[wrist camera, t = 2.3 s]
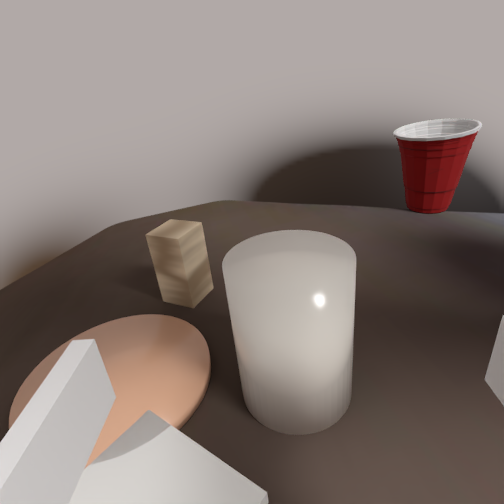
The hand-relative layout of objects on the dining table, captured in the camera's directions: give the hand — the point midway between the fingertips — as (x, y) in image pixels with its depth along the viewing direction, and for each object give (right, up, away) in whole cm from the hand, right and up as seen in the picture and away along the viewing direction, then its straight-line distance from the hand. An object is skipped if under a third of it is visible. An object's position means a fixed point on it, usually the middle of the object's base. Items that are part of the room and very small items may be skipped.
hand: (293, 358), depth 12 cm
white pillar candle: (+2, -6, +15) cm, 16 cm away
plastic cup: (+25, +10, +42) cm, 50 cm away
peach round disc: (-12, -7, +17) cm, 22 cm away
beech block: (-8, -1, +27) cm, 29 cm away
